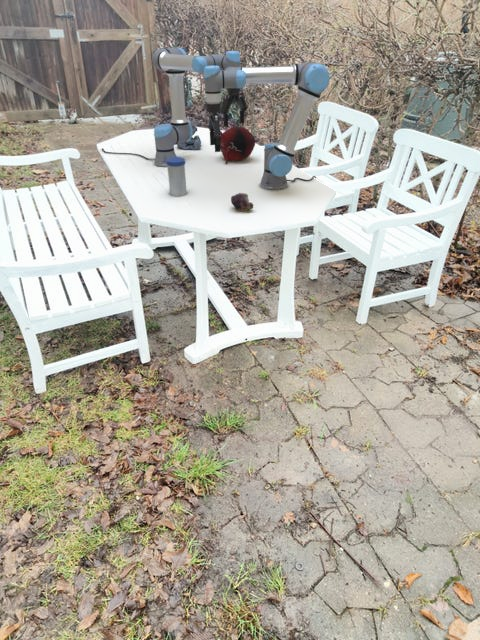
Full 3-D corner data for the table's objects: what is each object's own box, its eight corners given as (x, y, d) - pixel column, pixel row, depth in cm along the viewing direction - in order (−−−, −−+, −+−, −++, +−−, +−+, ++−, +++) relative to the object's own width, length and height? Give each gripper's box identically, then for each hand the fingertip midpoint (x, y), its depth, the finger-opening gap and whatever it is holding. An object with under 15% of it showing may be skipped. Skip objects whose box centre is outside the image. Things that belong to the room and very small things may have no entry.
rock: (244, 206, 231) (227, 209, 227) (243, 189, 228) (226, 192, 224) (256, 210, 222) (238, 213, 218) (255, 192, 218) (237, 195, 214)
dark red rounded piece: (216, 132, 305) (216, 129, 282) (250, 124, 304) (252, 121, 281) (223, 164, 312) (223, 164, 288) (256, 157, 311) (259, 156, 288)
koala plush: (201, 150, 322) (199, 120, 311) (176, 150, 321) (173, 121, 310) (201, 144, 336) (199, 116, 325) (177, 144, 335) (174, 116, 324)
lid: (171, 167, 231) (170, 163, 230) (163, 163, 238) (163, 159, 237) (188, 164, 236) (188, 160, 235) (180, 160, 243) (179, 156, 241)
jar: (174, 197, 241) (171, 163, 231) (167, 192, 247) (164, 159, 237) (189, 194, 245) (187, 161, 235) (182, 189, 251) (179, 157, 241)
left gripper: (222, 86, 238) (223, 129, 250) (253, 82, 253) (253, 122, 265) (212, 85, 242) (214, 127, 254) (243, 80, 257) (243, 120, 269)
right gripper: (201, 98, 225) (204, 142, 238) (209, 107, 206) (212, 155, 218) (216, 97, 227) (218, 141, 239) (226, 106, 207) (227, 154, 219)
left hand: (234, 125), depth 259 cm, fingers open, 13 cm apart
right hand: (215, 148), depth 228 cm, fingers open, 13 cm apart
